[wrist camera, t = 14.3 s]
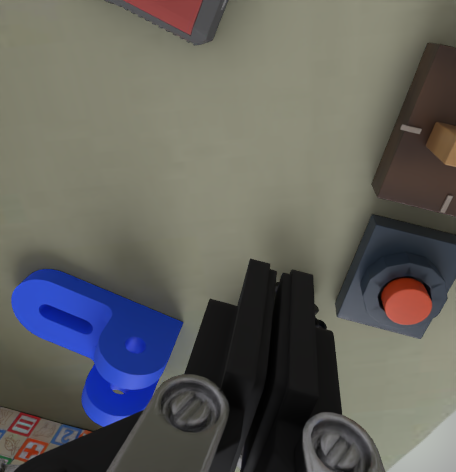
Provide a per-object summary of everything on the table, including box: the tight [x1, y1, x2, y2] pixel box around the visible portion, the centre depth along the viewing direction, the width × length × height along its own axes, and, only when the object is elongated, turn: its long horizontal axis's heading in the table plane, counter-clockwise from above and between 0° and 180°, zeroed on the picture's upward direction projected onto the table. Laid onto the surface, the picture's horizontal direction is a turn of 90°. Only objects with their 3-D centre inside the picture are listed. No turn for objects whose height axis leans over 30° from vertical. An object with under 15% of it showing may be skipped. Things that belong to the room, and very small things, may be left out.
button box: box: [335, 214, 456, 339], centre depth 36 cm, size 10×8×4 cm
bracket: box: [12, 269, 183, 427], centre depth 42 cm, size 18×8×9 cm, turn 69°
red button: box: [381, 278, 432, 325], centre depth 34 cm, size 4×4×2 cm
